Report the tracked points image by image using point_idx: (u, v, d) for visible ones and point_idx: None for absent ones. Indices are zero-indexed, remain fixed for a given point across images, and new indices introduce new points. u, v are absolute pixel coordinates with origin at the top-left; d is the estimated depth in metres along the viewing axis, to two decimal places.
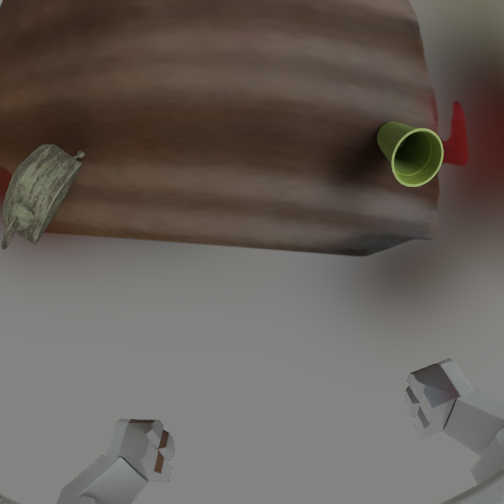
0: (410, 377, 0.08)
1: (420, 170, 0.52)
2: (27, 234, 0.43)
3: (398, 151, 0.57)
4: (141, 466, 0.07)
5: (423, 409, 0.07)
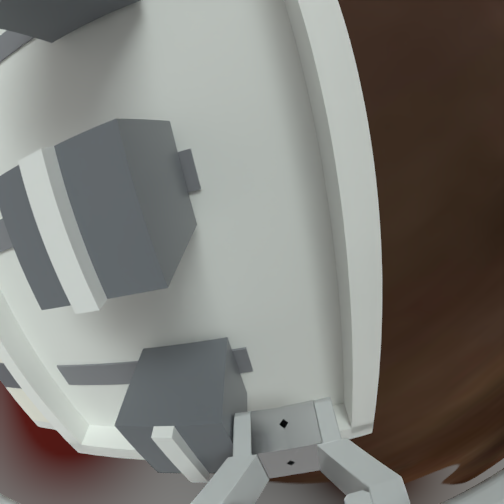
0: None
1: None
2: None
3: None
4: (274, 461, 0.07)
5: None
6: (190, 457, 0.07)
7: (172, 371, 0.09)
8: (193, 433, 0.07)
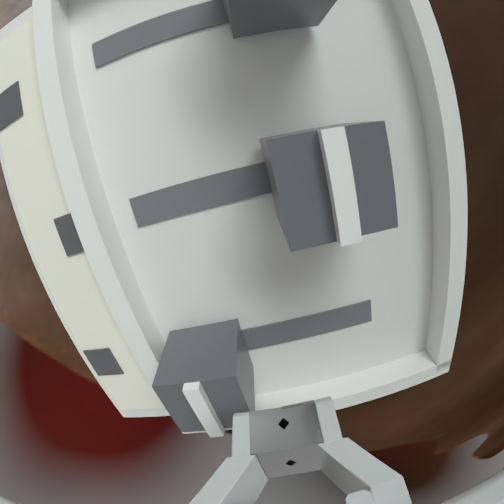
0: None
1: None
2: None
3: None
4: (273, 461, 0.07)
5: None
6: (211, 410, 0.10)
7: (195, 345, 0.12)
8: (213, 388, 0.10)
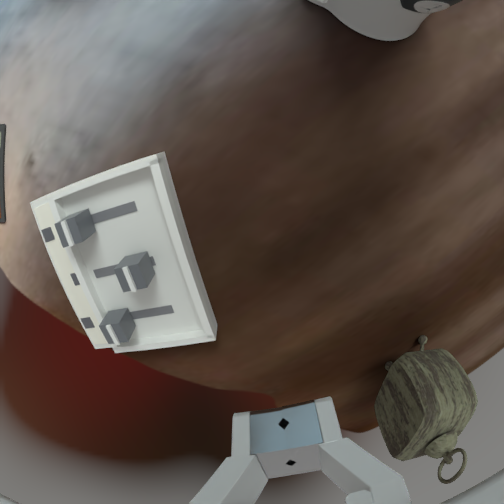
0: None
1: None
2: None
3: None
4: (273, 461, 0.07)
5: None
6: (114, 334, 0.35)
7: (113, 315, 0.37)
8: (114, 326, 0.35)
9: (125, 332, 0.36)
